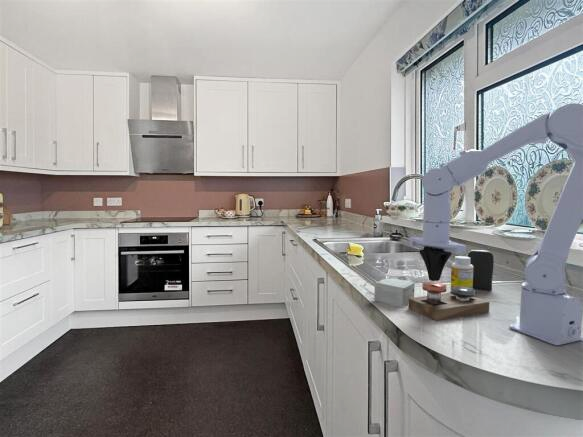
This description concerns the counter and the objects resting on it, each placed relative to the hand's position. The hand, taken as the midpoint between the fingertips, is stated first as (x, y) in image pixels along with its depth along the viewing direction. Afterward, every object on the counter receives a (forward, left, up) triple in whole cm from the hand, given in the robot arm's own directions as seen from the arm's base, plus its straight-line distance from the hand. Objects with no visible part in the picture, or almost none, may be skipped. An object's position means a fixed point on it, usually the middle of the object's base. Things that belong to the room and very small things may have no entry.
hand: (434, 280), depth 81 cm
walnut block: (0, -5, -8) cm, 9 cm away
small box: (+11, +3, -8) cm, 14 cm away
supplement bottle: (+10, -20, -8) cm, 23 cm away
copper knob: (0, 0, -5) cm, 5 cm away
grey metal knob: (0, -9, -7) cm, 12 cm away
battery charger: (+12, -29, -8) cm, 32 cm away
